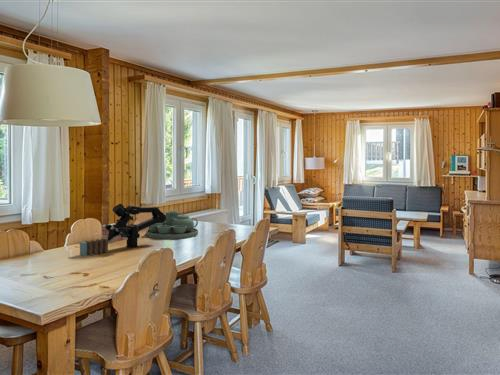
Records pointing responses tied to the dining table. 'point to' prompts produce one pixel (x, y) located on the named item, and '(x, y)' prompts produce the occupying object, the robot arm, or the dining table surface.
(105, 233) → the stack of blocks
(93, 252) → the domino
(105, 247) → the domino
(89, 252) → the domino
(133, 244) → the robot arm
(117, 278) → the dining table surface
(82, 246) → the end domino
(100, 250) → the domino
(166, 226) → the tea set
